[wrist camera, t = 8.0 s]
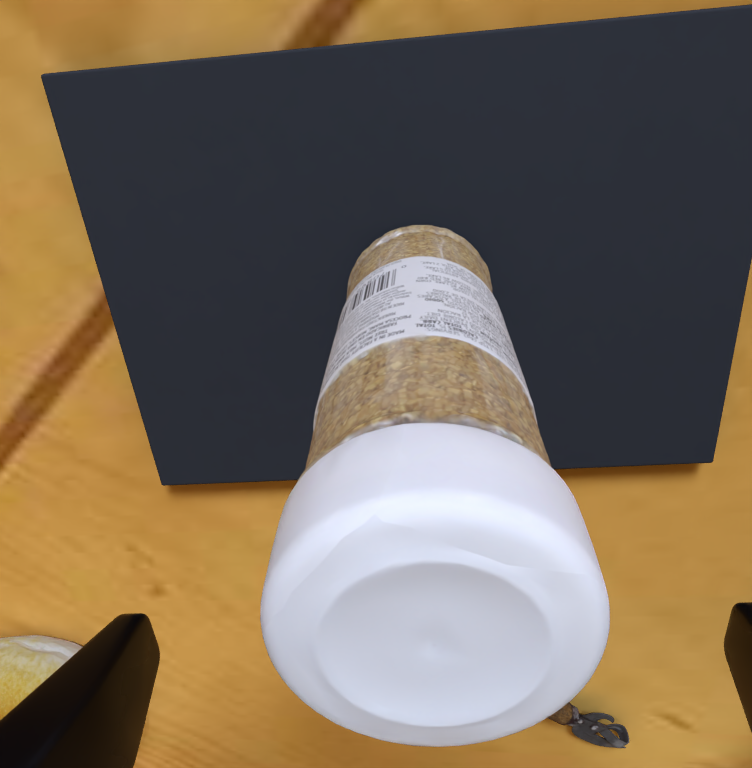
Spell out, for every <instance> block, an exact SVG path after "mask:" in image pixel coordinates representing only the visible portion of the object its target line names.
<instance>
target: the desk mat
mask: <svg viewBox="0 0 752 768" xmlns="http://www.w3.org/2000/svg"><path fill="white" fill-rule="evenodd" d="M41 78H42V82H43V85H44V89H45V92H46V95H47V99H48V102H49V105H50V109H51V112H52V116H53V119H54V122H55V126H56V129H57V132H58V136H59V139H60V143H61V146H62V149H63V153H64V156H65V159H66V163H67V166H68V170H69V173H70V176H71V180H72V183H73V186H74V190H75V193H76V197H77V200H78V203H79V207H80V210H81V213H82V217H83V220H84V224H85V227H86V230H87V234H88V237H89V240H90V244H91V247H92V251H93V254H94V257H95V261H96V264H97V267H98V271H99V274H100V278H101V281H102V284H103V288H104V291H105V295H106V298H107V301H108V305H109V308H110V311H111V315H112V318H113V322H114V325H115V328H116V332H117V335H118V338H119V342H120V345H121V349H122V352H123V355H124V359H125V362H126V365H127V369H128V372H129V376H130V379H131V382H132V386H133V389H134V392H135V396H136V399H137V403H138V406H139V409H140V413H141V416H142V419H143V423H144V426H145V430H146V433H147V436H148V440H149V443H150V446H151V450H152V453H153V457H154V460H155V463H156V467H157V470H158V473H159V477H160V480H161V484H162V485H187V484H211V483H235V482H259V481H283V480H298V479H299V478H300V476H301V475H302V473H303V472H304V471H305V468H306V463H307V459H308V455H309V451H310V446H311V441H312V437H313V432H314V431H313V423H314V416H315V410H316V406H317V402H318V398H319V394H320V390H321V386H322V382H323V378H324V375H325V371H326V367H327V364H328V360H329V356H330V353H331V349H332V345H333V342H334V338H335V334H336V331H337V327H338V323H339V319H340V316H341V313H342V310H343V307H344V305H345V303H346V298H347V289H348V281H349V277H350V274H351V271H352V269H353V267H354V266H355V263H356V261H357V259H358V258H359V256H360V255H361V253H362V252H363V251H364V250H365V249H367V248H368V247H369V246H370V245H371V244H372V243H373V242H374V241H375V240H376V239H378V238H380V237H382V236H383V235H384V234H386V233H387V232H389V231H392V230H395V229H398V228H401V227H407V226H411V225H432V226H436V227H440V228H447V229H449V230H450V231H452V232H454V233H456V234H458V235H459V236H461V237H463V238H465V239H466V240H467V241H468V242H469V243H470V244H471V245H472V246H473V247H474V248H475V249H476V250H477V251H478V253H479V255H480V256H481V258H482V259H483V261H484V262H485V263H486V265H487V267H488V270H489V274H490V279H491V284H492V294H493V296H494V297H495V299H496V301H497V303H498V305H499V308H500V310H501V313H502V316H503V319H504V322H505V325H506V328H507V330H508V333H509V336H510V339H511V342H512V345H513V348H514V351H515V354H516V357H517V359H518V362H519V365H520V368H521V370H522V373H523V376H524V379H525V382H526V385H527V388H528V391H529V394H530V397H531V400H532V403H533V406H534V411H535V415H536V420H537V425H538V428H539V432H540V436H541V438H542V441H543V444H544V447H545V450H546V453H547V455H548V458H549V461H550V464H551V468H553V469H571V468H595V467H619V466H643V465H667V464H691V463H711V462H713V458H714V453H715V447H716V442H717V437H718V432H719V427H720V421H721V416H722V411H723V406H724V400H725V395H726V390H727V385H728V379H729V374H730V369H731V364H732V359H733V353H734V348H735V343H736V338H737V332H738V327H739V322H740V317H741V311H742V306H743V301H744V296H745V291H746V285H747V280H748V275H749V270H750V264H751V259H752V4H751V5H741V6H731V7H721V8H710V9H700V10H690V11H680V12H670V13H659V14H649V15H639V16H629V17H619V18H608V19H598V20H588V21H578V22H568V23H557V24H547V25H537V26H527V27H517V28H506V29H496V30H486V31H476V32H466V33H455V34H445V35H435V36H425V37H415V38H404V39H394V40H384V41H374V42H364V43H353V44H343V45H333V46H323V47H313V48H302V49H292V50H282V51H272V52H262V53H251V54H241V55H231V56H221V57H211V58H200V59H190V60H180V61H170V62H160V63H150V64H139V65H129V66H119V67H109V68H99V69H88V70H78V71H68V72H58V73H48V74H43V75H41Z"/></svg>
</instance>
